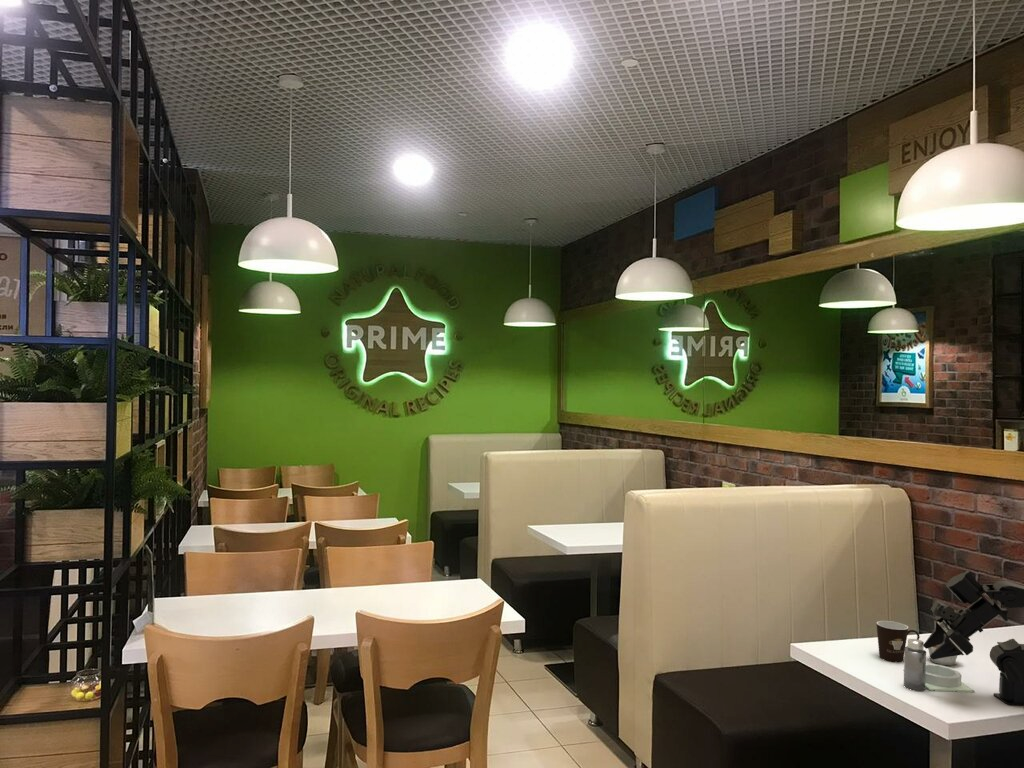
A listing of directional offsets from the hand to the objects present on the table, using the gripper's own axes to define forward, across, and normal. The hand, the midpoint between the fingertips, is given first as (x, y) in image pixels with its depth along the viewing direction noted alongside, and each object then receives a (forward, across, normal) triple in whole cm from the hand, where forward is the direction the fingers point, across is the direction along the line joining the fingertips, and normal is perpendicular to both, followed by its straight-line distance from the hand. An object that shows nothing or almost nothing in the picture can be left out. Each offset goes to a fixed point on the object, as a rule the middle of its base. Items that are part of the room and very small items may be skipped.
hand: (927, 652), depth 208 cm
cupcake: (+1, -26, +13) cm, 29 cm away
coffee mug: (+10, -23, +4) cm, 25 cm away
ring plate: (+4, -8, +10) cm, 13 cm away
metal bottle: (+9, 0, +5) cm, 10 cm away
